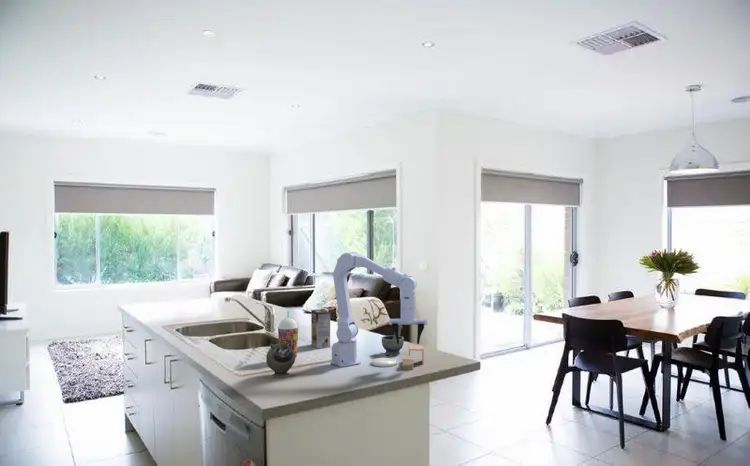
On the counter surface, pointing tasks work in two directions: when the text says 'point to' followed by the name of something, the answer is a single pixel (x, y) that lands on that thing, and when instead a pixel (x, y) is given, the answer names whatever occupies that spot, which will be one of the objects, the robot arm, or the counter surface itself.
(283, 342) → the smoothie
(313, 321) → the coffee box
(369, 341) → the counter surface
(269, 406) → the counter surface
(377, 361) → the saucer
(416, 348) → the cover
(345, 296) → the robot arm
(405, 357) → the block
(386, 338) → the mortar and pestle
